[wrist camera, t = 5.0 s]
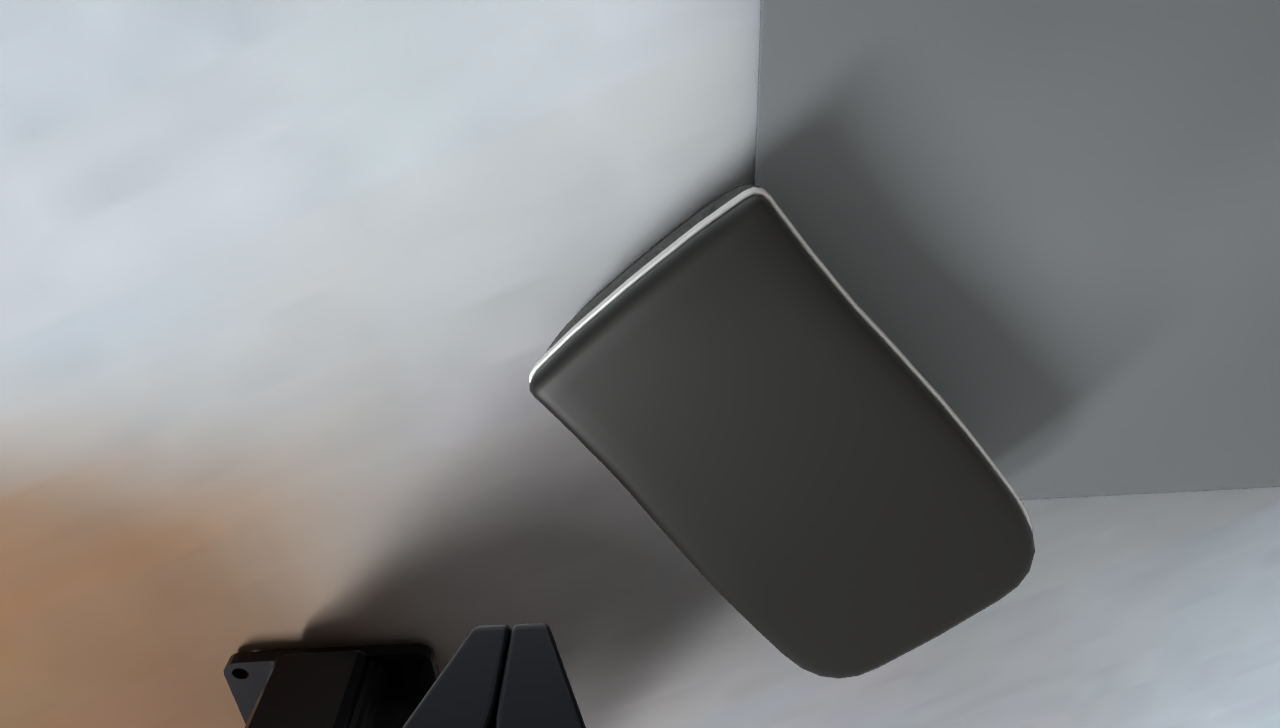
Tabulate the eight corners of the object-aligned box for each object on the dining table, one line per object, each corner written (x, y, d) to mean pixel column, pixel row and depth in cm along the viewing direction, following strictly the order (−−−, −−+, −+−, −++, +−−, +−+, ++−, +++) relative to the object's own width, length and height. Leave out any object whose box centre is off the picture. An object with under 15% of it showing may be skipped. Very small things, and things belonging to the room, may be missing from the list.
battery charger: (540, 329, 21) (806, 609, 24) (506, 390, 18) (823, 710, 20) (752, 150, 19) (1017, 481, 22) (762, 179, 15) (1077, 569, 18)
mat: (1291, 477, 24) (1301, 485, 23) (743, 505, 23) (745, 514, 23) (1654, -319, 15) (1679, -324, 14) (770, -282, 14) (774, -287, 14)
